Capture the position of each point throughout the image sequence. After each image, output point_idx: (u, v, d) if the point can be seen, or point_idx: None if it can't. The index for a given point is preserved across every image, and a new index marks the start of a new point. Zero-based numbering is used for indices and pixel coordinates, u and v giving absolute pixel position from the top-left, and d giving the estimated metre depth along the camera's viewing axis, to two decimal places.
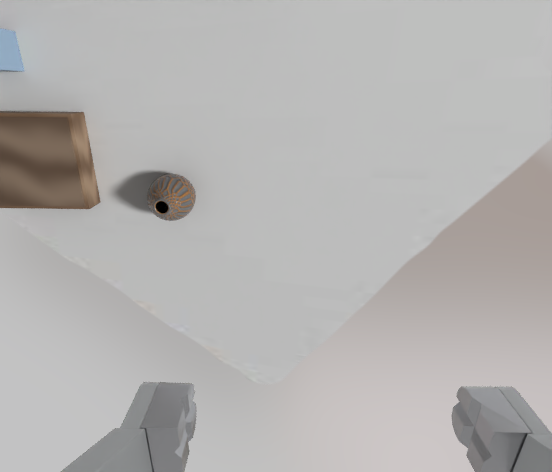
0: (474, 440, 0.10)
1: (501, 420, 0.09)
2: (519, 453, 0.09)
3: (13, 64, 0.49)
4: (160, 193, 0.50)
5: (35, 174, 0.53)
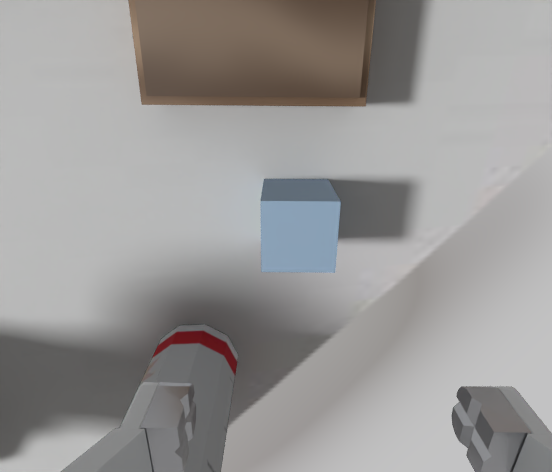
0: (474, 440, 0.10)
1: (501, 420, 0.09)
2: (519, 453, 0.09)
3: None
4: None
5: None
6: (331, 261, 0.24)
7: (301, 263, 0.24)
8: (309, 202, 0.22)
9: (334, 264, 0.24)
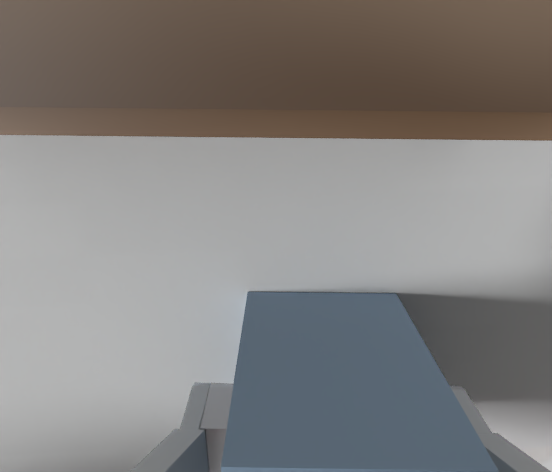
0: None
1: None
2: None
3: None
4: None
5: None
6: None
7: None
8: None
9: None
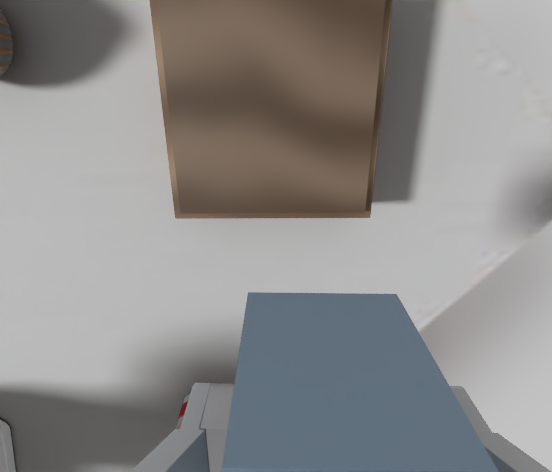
0: None
1: None
2: None
3: None
4: None
5: (268, 88, 0.22)
6: None
7: None
8: None
9: None
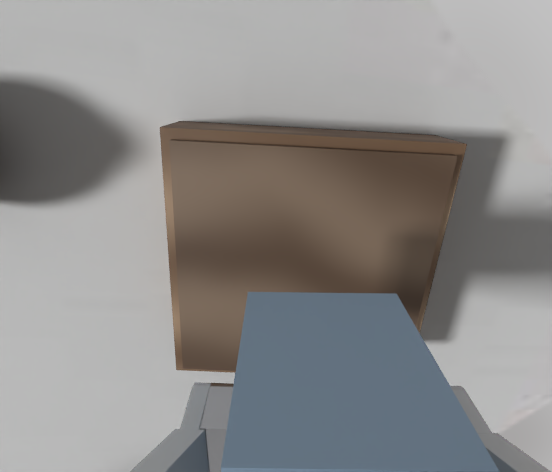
0: None
1: None
2: None
3: None
4: None
5: (301, 247, 0.18)
6: None
7: None
8: None
9: None
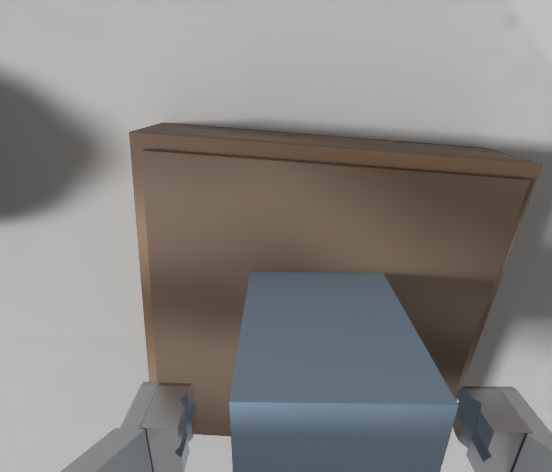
0: (474, 440, 0.10)
1: (501, 420, 0.09)
2: (519, 454, 0.09)
3: None
4: None
5: None
6: None
7: None
8: (367, 406, 0.08)
9: None
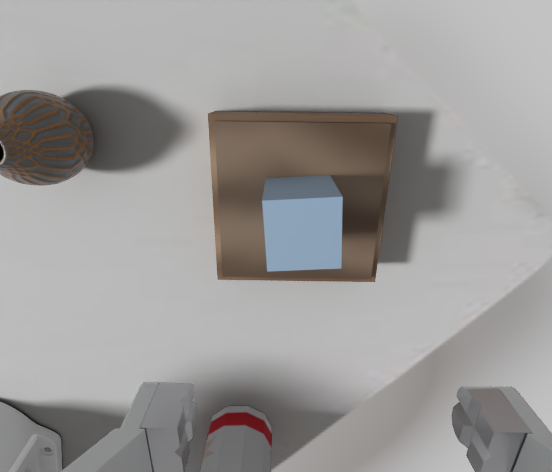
0: (474, 440, 0.10)
1: (501, 420, 0.09)
2: (519, 454, 0.09)
3: None
4: (14, 171, 0.24)
5: None
6: (336, 257, 0.23)
7: (306, 261, 0.24)
8: (310, 199, 0.22)
9: (340, 260, 0.24)
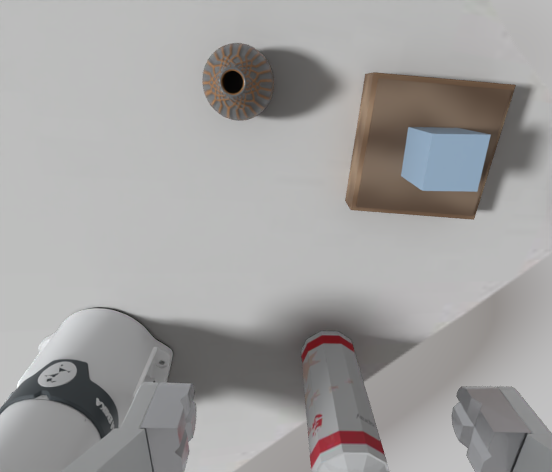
0: (474, 440, 0.10)
1: (501, 420, 0.09)
2: (519, 453, 0.09)
3: (414, 137, 0.34)
4: (237, 103, 0.32)
5: None
6: (475, 182, 0.32)
7: (453, 184, 0.32)
8: (467, 135, 0.30)
9: (478, 184, 0.32)
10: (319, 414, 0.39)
